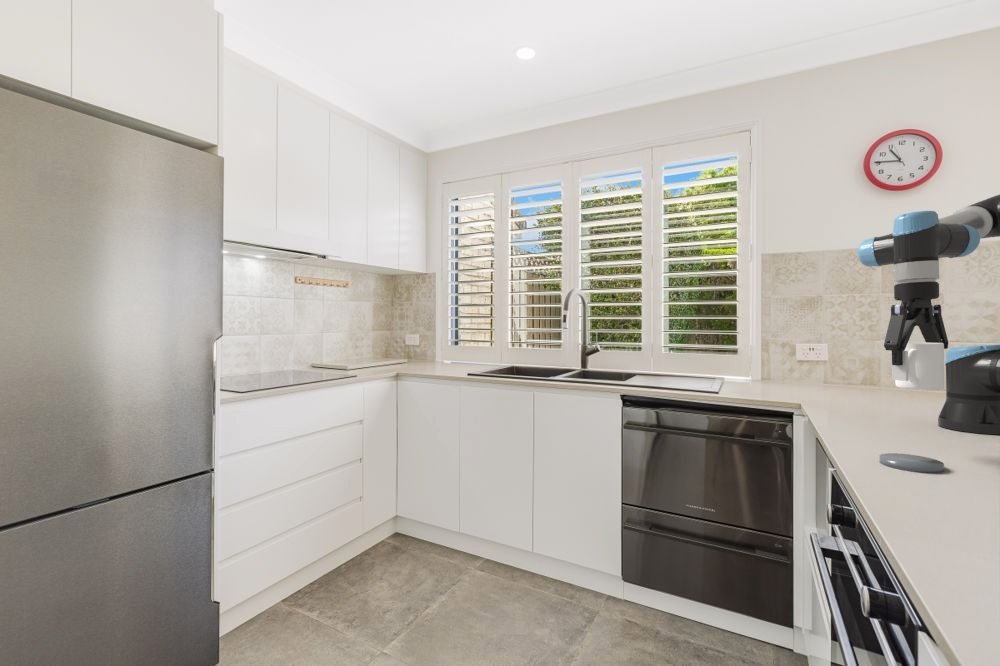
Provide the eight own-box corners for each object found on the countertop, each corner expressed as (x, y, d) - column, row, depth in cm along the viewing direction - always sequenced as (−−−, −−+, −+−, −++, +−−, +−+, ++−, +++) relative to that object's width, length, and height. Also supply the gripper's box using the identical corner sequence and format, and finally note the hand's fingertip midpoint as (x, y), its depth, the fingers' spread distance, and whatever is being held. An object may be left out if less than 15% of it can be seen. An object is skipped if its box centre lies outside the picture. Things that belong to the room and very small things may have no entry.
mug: (936, 393, 97) (935, 344, 97) (886, 390, 103) (885, 344, 103) (948, 388, 104) (947, 342, 104) (900, 385, 110) (899, 342, 110)
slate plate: (897, 456, 102) (897, 451, 102) (955, 469, 93) (955, 463, 93) (868, 461, 99) (868, 456, 99) (925, 475, 89) (925, 469, 89)
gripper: (927, 284, 111) (929, 374, 111) (862, 282, 103) (864, 380, 103) (968, 281, 104) (969, 377, 104) (902, 279, 96) (903, 383, 96)
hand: (917, 378), depth 104 cm, fingers closed on mug, 12 cm apart
